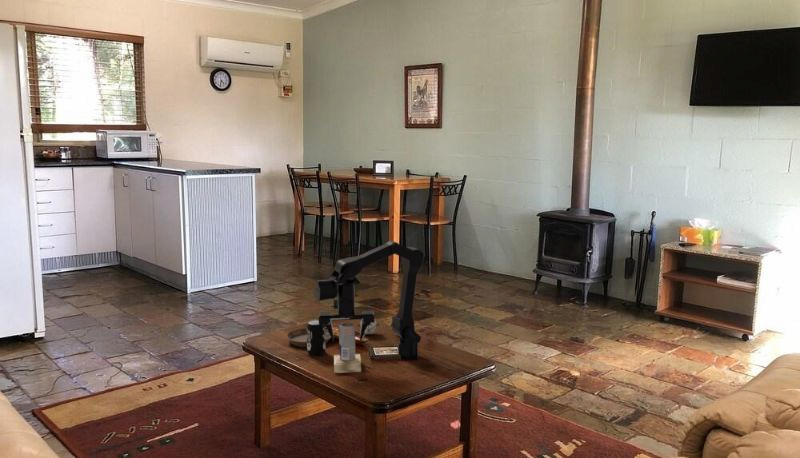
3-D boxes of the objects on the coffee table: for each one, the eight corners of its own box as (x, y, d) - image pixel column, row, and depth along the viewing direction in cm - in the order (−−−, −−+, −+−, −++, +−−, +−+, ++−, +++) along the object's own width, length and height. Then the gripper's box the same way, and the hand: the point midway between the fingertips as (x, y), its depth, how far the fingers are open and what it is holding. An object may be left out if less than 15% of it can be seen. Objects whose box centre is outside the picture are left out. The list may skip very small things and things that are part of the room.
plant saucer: (311, 331, 255) (311, 324, 254) (342, 340, 243) (342, 333, 243) (277, 342, 241) (276, 335, 241) (307, 353, 230) (307, 345, 230)
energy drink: (347, 354, 218) (346, 321, 216) (358, 358, 215) (358, 324, 213) (336, 359, 214) (335, 325, 212) (347, 362, 211) (347, 328, 209)
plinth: (360, 362, 220) (359, 353, 219) (361, 371, 211) (360, 362, 211) (334, 363, 219) (334, 354, 219) (334, 373, 210) (334, 364, 210)
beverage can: (322, 357, 225) (321, 325, 223) (304, 356, 226) (303, 324, 224) (327, 351, 231) (327, 319, 229) (311, 349, 233) (310, 318, 231)
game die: (371, 342, 252) (384, 320, 254) (371, 341, 243) (384, 319, 245) (352, 330, 252) (365, 309, 254) (352, 329, 244) (365, 307, 246)
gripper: (372, 290, 220) (373, 332, 223) (318, 291, 218) (320, 334, 221) (374, 298, 209) (374, 343, 212) (317, 300, 207) (319, 345, 210)
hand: (347, 341), depth 214 cm, fingers open, 9 cm apart
